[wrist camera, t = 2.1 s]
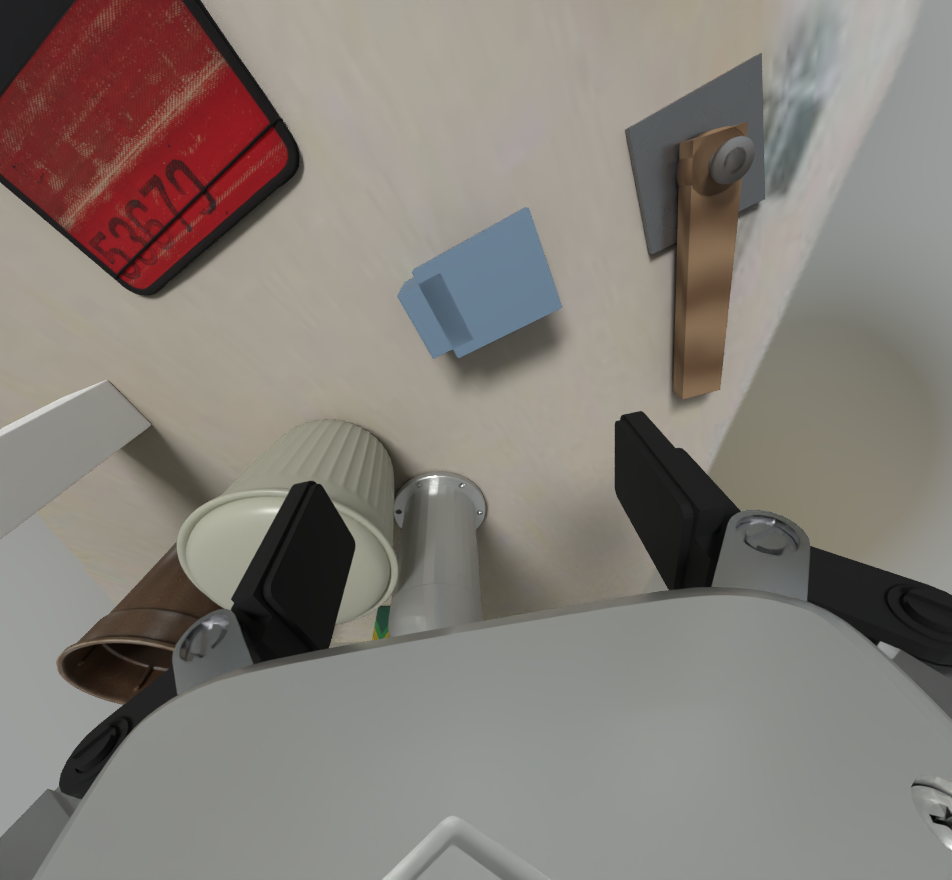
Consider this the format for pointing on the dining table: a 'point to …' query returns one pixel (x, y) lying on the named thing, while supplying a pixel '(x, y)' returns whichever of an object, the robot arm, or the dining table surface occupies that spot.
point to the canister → (262, 494)
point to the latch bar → (706, 252)
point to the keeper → (481, 288)
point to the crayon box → (381, 623)
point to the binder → (134, 130)
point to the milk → (61, 448)
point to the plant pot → (136, 635)
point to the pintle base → (684, 120)
